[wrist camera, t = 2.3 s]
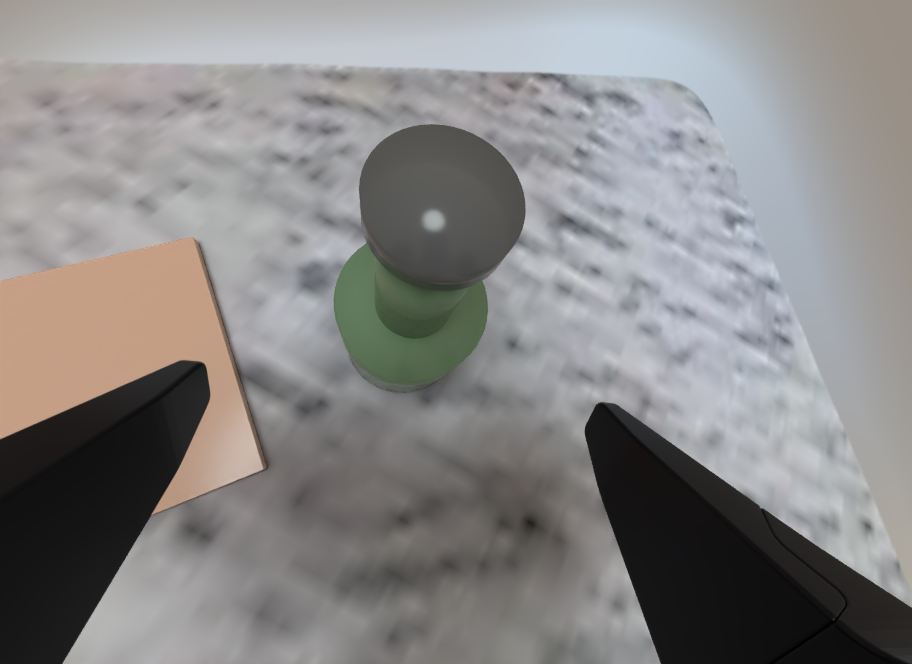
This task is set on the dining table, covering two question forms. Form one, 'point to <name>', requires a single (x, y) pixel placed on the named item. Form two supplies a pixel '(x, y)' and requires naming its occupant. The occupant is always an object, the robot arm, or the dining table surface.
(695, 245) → the dining table surface
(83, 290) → the tile
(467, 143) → the bottle
